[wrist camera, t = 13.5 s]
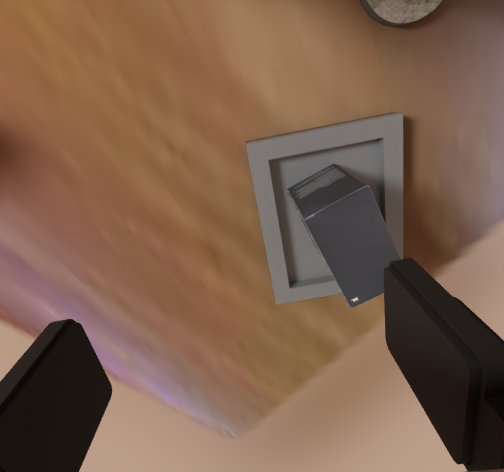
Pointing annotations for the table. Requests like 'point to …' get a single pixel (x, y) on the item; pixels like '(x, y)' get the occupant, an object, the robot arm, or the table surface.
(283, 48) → the table surface
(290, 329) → the table surface
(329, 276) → the tray
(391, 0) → the figurine
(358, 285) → the small box
